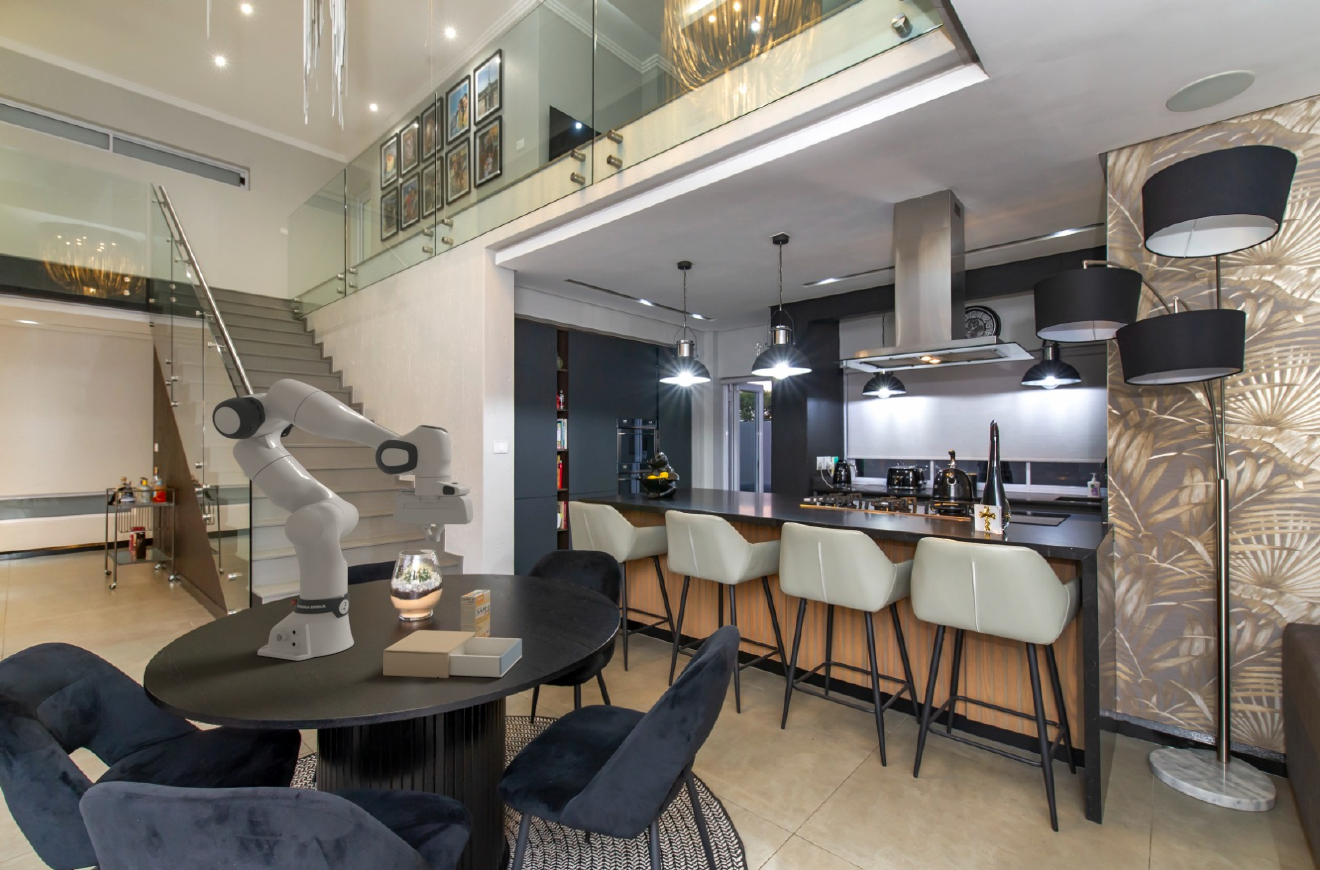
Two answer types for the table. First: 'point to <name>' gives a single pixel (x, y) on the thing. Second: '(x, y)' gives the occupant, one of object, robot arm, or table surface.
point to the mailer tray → (485, 656)
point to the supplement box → (476, 613)
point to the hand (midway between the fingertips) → (433, 541)
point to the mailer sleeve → (423, 653)
